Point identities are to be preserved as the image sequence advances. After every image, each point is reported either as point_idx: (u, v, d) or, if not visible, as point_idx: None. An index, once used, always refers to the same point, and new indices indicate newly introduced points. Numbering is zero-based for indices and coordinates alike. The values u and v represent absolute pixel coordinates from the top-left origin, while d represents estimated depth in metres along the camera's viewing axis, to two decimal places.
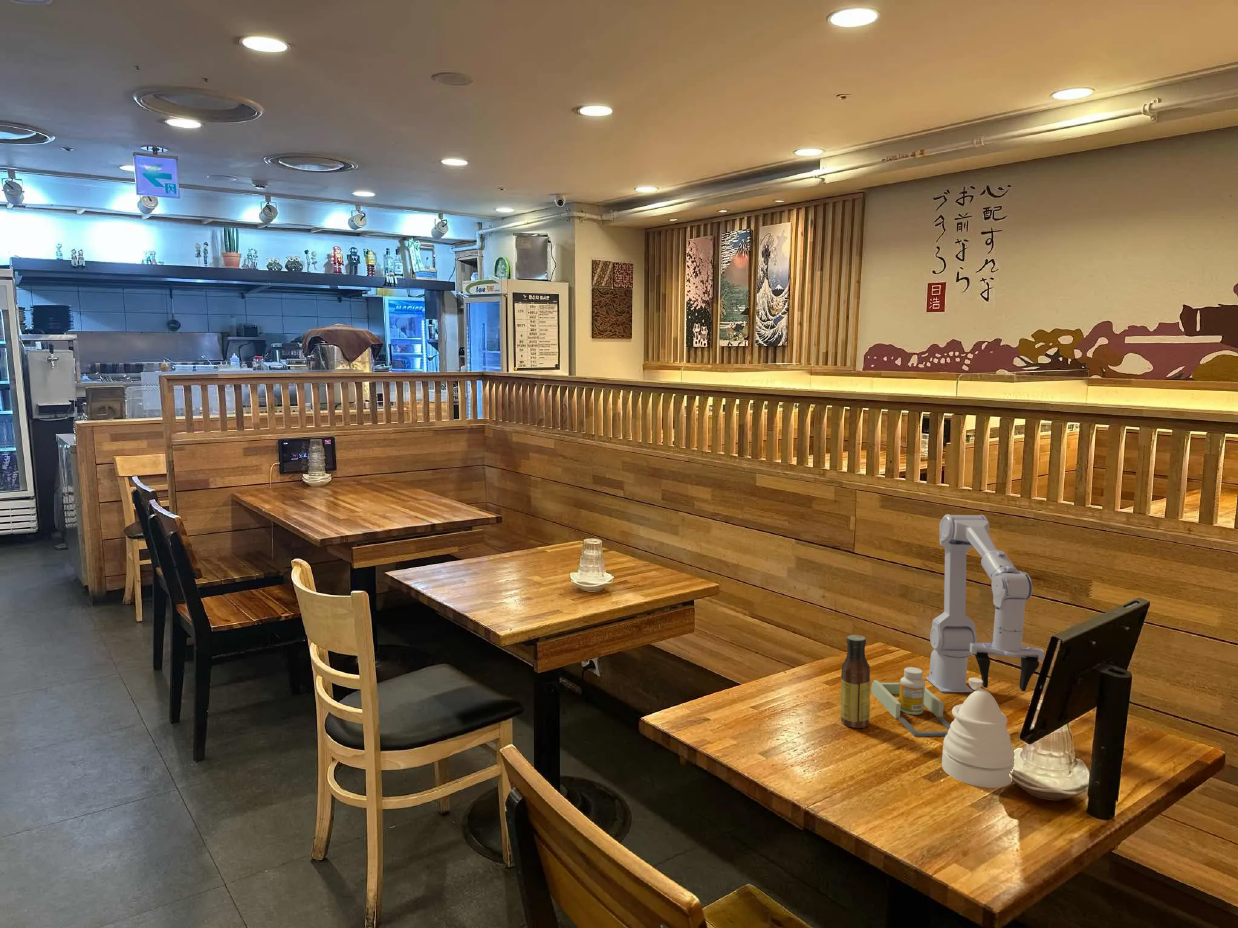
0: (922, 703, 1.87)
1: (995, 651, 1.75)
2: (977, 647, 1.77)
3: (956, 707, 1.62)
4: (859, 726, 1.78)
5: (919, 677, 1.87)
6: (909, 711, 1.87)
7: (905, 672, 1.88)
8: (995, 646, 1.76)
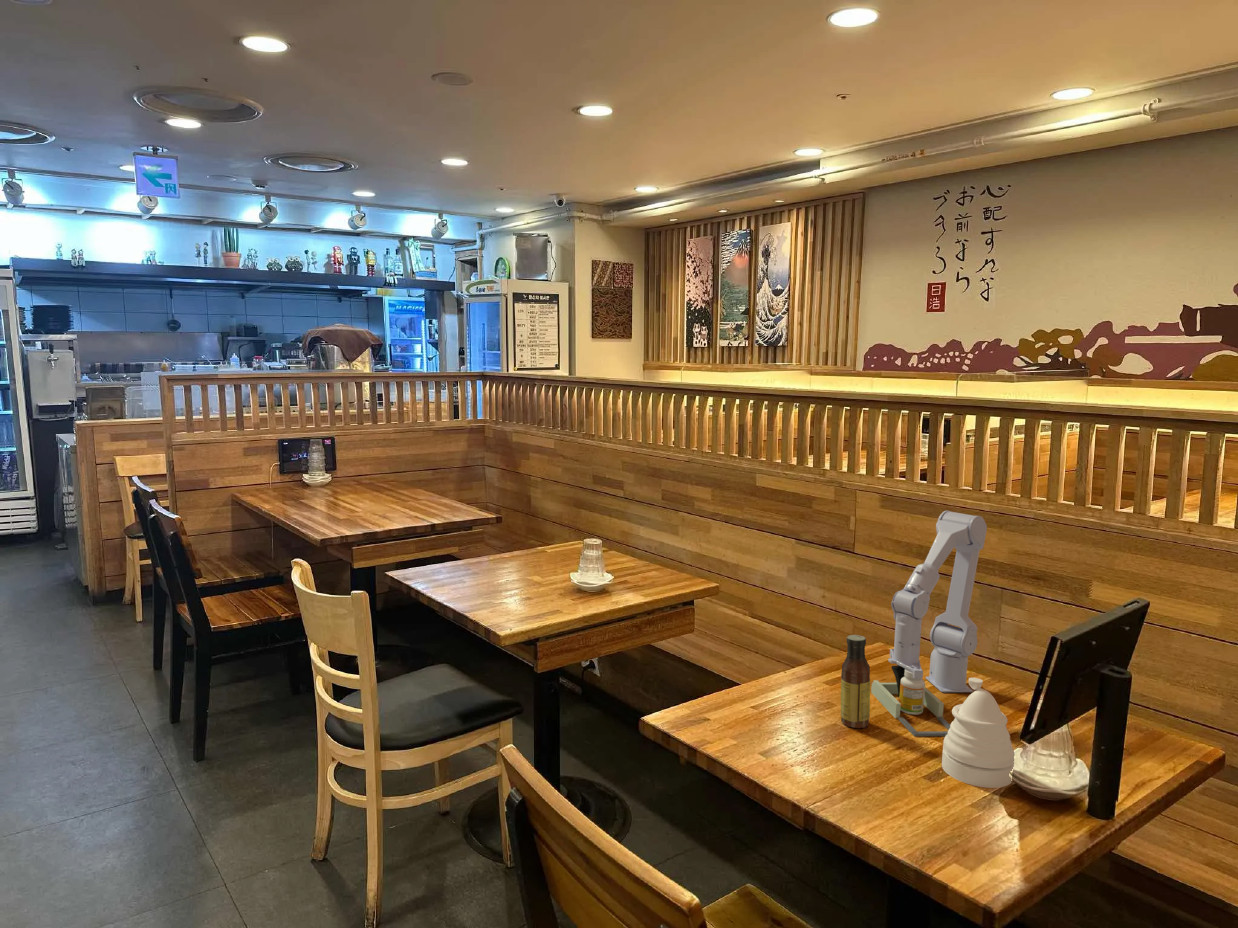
0: (922, 703, 1.87)
1: (892, 657, 1.95)
2: (891, 651, 1.98)
3: (956, 707, 1.62)
4: (859, 726, 1.78)
5: None
6: (909, 711, 1.87)
7: (905, 672, 1.88)
8: None
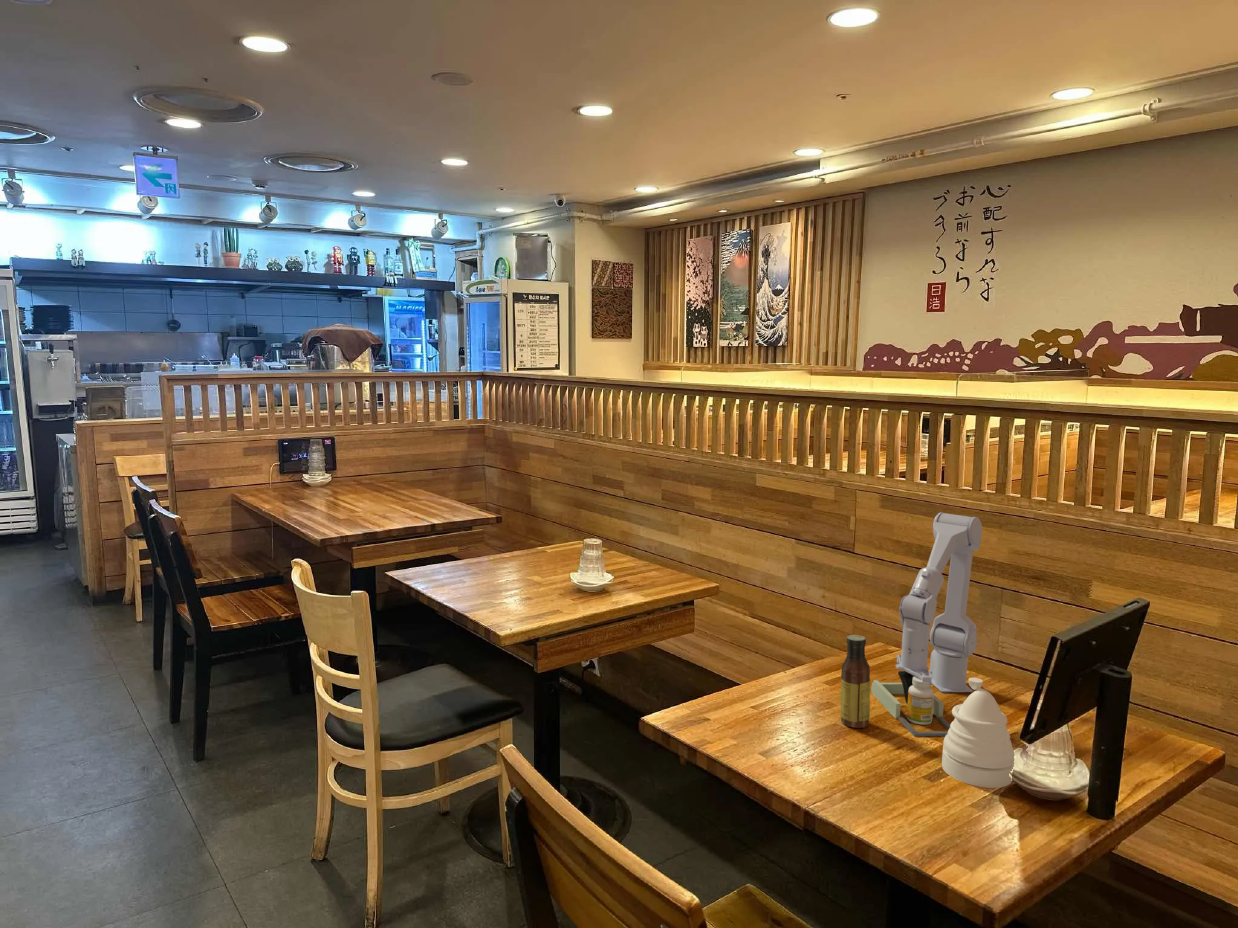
0: (931, 713, 1.82)
1: (899, 663, 1.91)
2: (898, 657, 1.94)
3: (956, 707, 1.62)
4: (859, 726, 1.78)
5: (928, 686, 1.81)
6: (918, 721, 1.82)
7: (913, 681, 1.83)
8: None
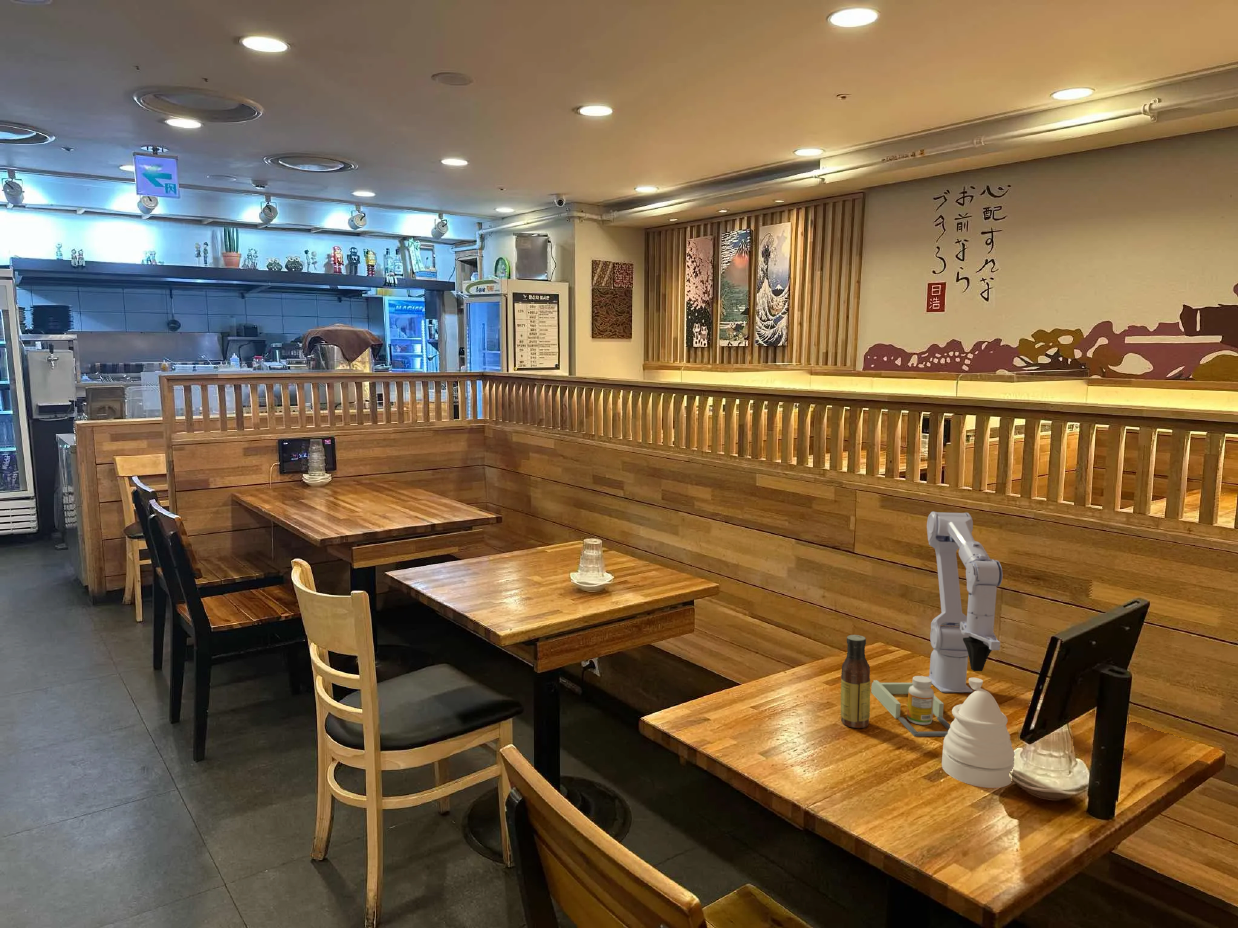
0: (931, 713, 1.82)
1: (964, 629, 1.89)
2: (962, 624, 1.92)
3: (956, 707, 1.62)
4: (859, 726, 1.78)
5: (928, 686, 1.81)
6: (918, 721, 1.82)
7: (914, 681, 1.83)
8: None
